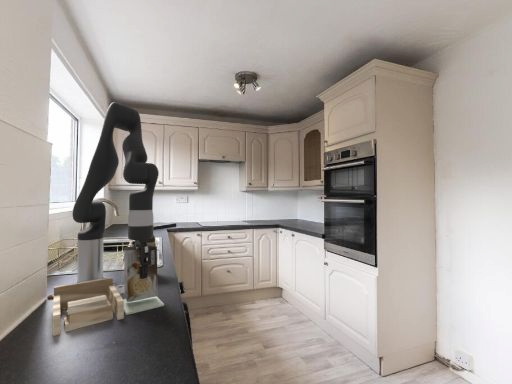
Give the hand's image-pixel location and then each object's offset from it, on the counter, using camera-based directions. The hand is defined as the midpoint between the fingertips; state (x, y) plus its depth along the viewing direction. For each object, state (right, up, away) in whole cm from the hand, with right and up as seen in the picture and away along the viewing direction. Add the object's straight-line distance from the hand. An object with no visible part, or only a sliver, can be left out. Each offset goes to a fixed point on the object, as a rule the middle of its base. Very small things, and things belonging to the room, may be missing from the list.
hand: (140, 275), depth 86 cm
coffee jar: (-11, -10, +31) cm, 34 cm away
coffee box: (0, -7, 0) cm, 7 cm away
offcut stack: (-9, -9, -12) cm, 18 cm away
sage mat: (0, -9, 0) cm, 9 cm away
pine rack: (-13, -9, -7) cm, 17 cm away
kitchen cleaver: (-22, -10, +8) cm, 26 cm away
